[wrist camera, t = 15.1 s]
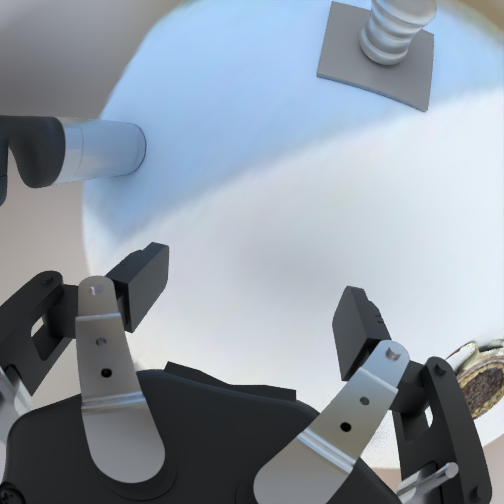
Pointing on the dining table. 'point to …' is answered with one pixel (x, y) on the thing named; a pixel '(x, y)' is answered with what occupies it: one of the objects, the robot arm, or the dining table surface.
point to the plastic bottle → (394, 28)
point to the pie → (482, 378)
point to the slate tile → (368, 71)
